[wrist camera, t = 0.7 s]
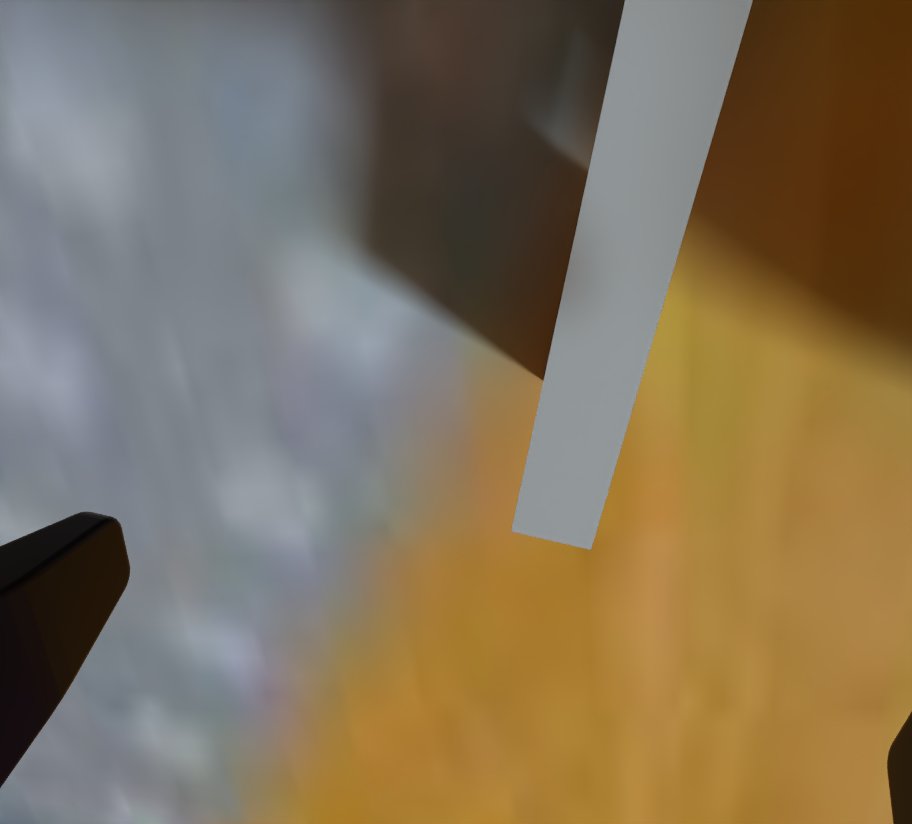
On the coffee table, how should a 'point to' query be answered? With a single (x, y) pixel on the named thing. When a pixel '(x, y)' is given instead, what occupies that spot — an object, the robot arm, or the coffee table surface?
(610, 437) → the tapered grey plank
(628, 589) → the coffee table surface
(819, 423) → the coffee table surface
